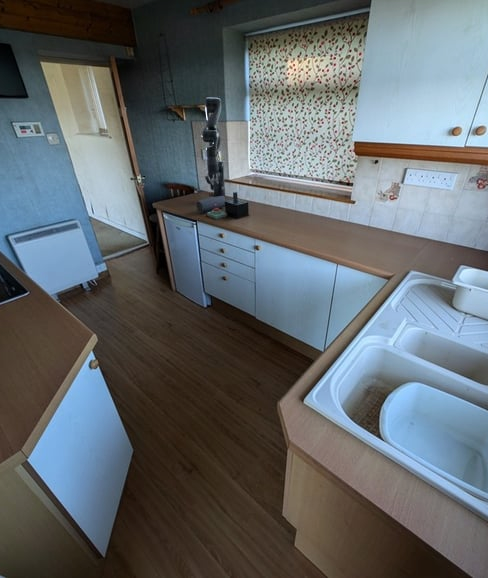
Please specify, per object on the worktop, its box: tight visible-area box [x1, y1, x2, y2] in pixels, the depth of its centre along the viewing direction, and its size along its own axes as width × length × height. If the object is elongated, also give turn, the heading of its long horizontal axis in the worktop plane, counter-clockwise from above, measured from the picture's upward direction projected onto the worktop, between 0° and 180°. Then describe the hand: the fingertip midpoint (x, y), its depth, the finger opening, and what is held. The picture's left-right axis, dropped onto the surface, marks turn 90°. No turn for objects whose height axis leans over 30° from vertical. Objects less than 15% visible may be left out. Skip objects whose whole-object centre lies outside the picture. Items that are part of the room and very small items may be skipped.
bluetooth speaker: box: [196, 196, 227, 213], centre depth 226 cm, size 23×9×10 cm, turn 132°
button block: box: [206, 209, 228, 220], centre depth 216 cm, size 12×10×4 cm
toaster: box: [224, 198, 250, 220], centre depth 216 cm, size 14×11×10 cm
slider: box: [232, 191, 239, 200], centre depth 216 cm, size 2×2×5 cm
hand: (214, 189), depth 207 cm, fingers open, 3 cm apart
